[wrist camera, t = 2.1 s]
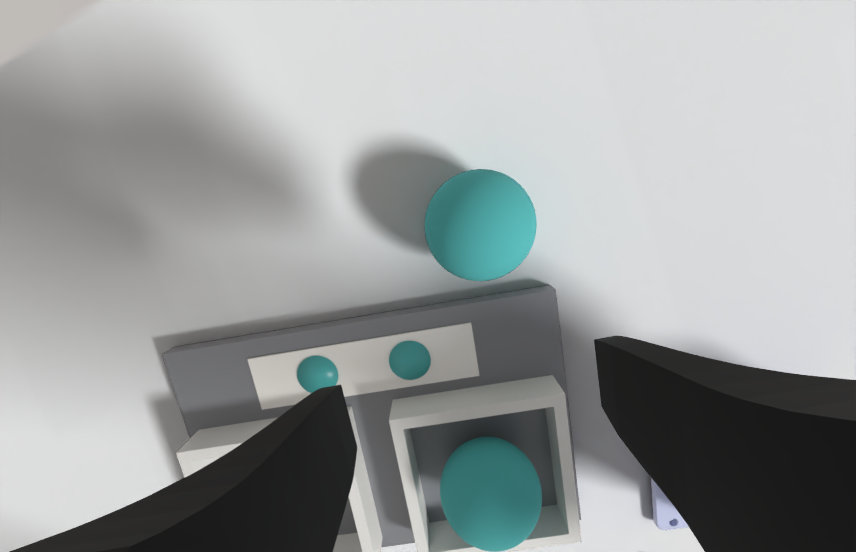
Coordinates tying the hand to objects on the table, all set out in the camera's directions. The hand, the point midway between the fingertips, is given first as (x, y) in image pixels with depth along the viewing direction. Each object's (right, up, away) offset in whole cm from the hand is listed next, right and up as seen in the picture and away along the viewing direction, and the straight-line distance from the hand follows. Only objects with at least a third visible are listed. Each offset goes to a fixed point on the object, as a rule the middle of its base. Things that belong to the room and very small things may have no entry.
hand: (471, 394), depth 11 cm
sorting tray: (-4, -6, +12) cm, 14 cm away
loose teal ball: (+1, +6, +9) cm, 11 cm away
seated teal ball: (+2, -7, +11) cm, 13 cm away
